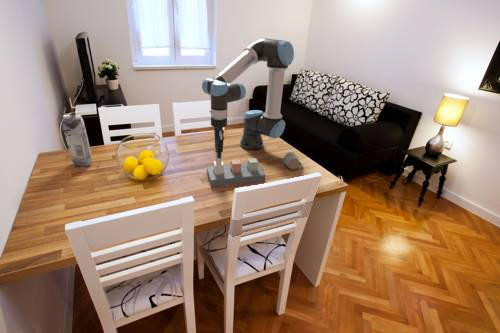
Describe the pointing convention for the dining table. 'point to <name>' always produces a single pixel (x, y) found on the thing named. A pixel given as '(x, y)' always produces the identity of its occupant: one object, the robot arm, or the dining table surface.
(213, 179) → the console
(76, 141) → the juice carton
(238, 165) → the key terracotta
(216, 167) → the key cream
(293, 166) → the ceramic mug
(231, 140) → the dining table surface
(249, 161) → the key sage
